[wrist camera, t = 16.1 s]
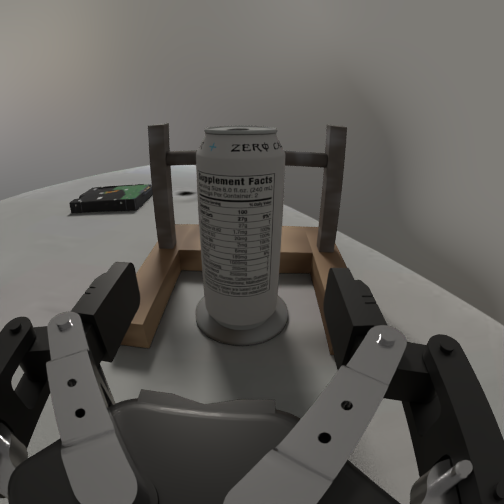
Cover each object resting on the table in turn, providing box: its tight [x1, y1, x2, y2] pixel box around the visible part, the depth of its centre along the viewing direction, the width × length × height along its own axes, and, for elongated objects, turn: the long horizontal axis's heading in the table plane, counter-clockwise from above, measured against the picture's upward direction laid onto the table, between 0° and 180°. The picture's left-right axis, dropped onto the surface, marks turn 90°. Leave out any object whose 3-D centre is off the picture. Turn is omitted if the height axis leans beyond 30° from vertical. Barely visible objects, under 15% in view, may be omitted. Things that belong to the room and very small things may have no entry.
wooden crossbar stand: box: [121, 123, 347, 355], centre depth 26 cm, size 20×19×16 cm
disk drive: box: [70, 184, 153, 213], centre depth 54 cm, size 10×3×15 cm
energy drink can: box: [196, 126, 285, 330], centre depth 22 cm, size 6×6×15 cm
